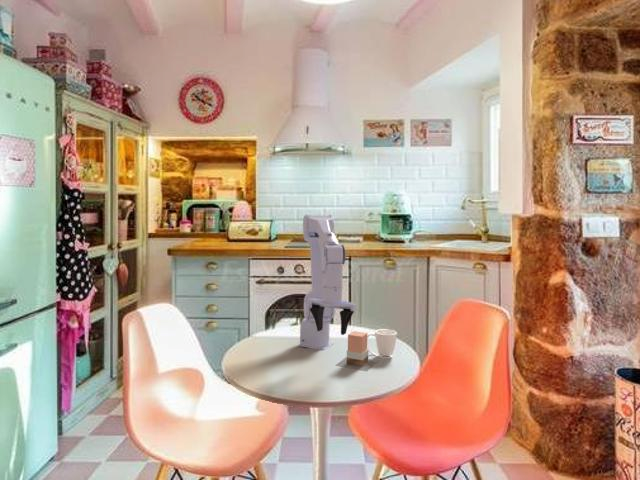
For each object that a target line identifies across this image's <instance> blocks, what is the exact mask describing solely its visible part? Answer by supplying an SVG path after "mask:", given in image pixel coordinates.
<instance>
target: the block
mask: <svg viewBox="0 0 640 480" xmlns="http://www.w3.org/2000/svg"><path fill="white" fill-rule="evenodd" d="M368 335H369V334H368V332H364V331H355V330H353V331H351V332H350V333H348V334H347V350H348V351H350V352H356V353H363V352H364V351H366V350H367V347H368V338H367V336H368Z"/></svg>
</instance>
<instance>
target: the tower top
mask: <svg viewBox="0 0 640 480" xmlns="http://www.w3.org/2000/svg"><path fill="white" fill-rule="evenodd" d="M367 356H368V357H369V351H368V349H367V350H366V351H364V352H363V353H356V352H350V351H348V349H347V350H346V357H347V358H352V359H358V360H363V359H365V358H366V357H367Z"/></svg>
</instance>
